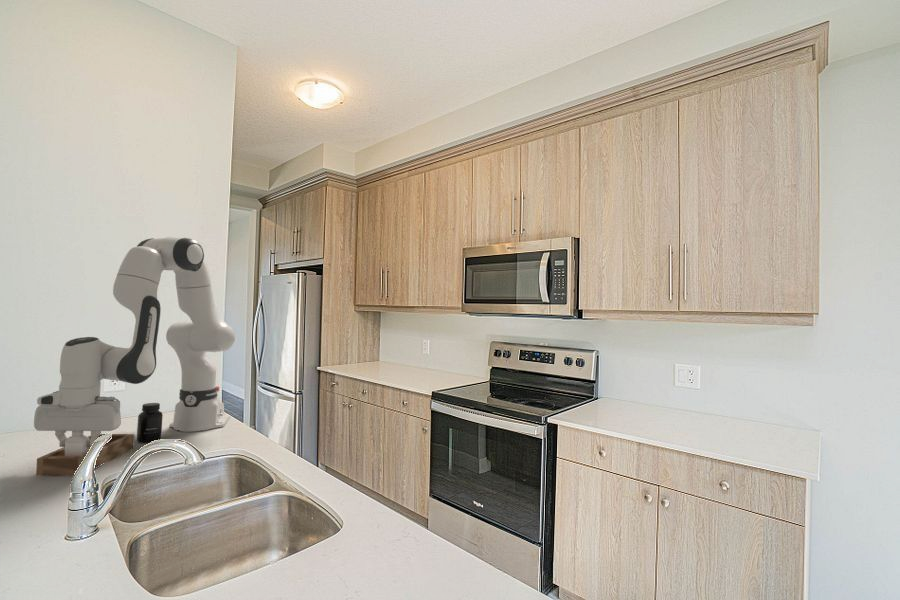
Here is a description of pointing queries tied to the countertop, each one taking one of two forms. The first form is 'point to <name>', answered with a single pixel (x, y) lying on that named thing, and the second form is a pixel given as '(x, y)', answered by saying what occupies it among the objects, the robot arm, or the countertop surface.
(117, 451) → the wooden divided tray
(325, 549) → the countertop surface
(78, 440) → the eye dropper bottle
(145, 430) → the supplement bottle
